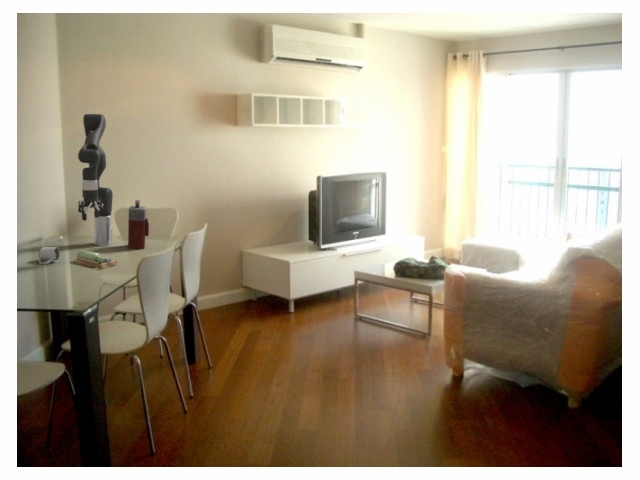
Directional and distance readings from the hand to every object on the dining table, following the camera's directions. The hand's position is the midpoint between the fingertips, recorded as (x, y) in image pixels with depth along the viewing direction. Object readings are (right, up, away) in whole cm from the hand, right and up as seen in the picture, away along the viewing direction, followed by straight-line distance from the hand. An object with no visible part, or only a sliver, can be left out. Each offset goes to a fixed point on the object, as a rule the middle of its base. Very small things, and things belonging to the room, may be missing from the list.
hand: (90, 218), depth 313 cm
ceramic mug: (-19, -22, -6) cm, 30 cm away
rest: (+4, -23, -3) cm, 24 cm away
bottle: (-5, -19, +1) cm, 20 cm away
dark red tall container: (+14, -15, +38) cm, 43 cm away
